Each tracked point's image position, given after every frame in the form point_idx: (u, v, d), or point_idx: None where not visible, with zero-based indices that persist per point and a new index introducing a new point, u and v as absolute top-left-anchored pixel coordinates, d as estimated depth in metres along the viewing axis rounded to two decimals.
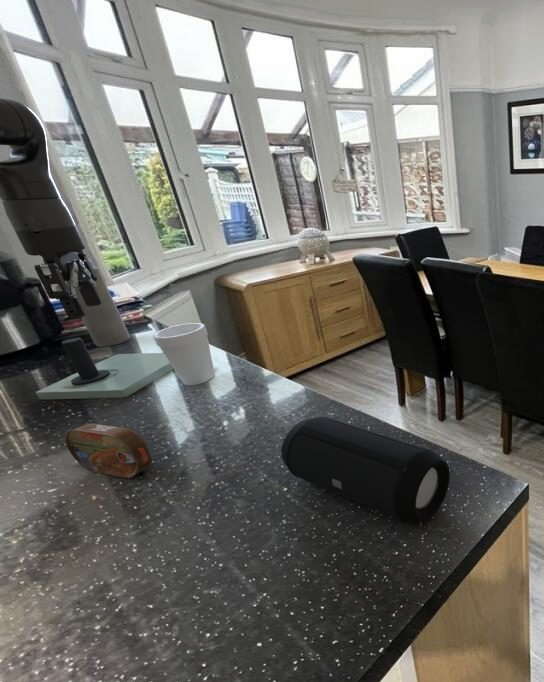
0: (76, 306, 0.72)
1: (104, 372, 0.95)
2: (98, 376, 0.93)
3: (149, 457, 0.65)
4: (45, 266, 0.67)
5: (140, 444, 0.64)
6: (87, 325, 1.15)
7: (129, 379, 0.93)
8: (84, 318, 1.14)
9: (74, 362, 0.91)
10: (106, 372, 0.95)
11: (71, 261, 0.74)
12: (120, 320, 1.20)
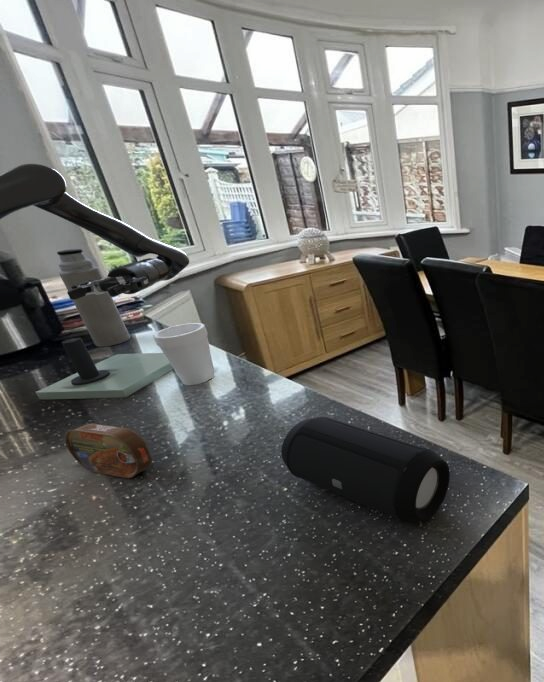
0: (120, 292, 0.99)
1: (104, 372, 0.95)
2: (98, 376, 0.93)
3: (149, 457, 0.65)
4: (148, 281, 1.06)
5: (140, 444, 0.64)
6: (87, 325, 1.15)
7: (129, 379, 0.93)
8: (84, 318, 1.14)
9: (74, 362, 0.91)
10: (106, 372, 0.95)
11: None
12: (120, 320, 1.20)
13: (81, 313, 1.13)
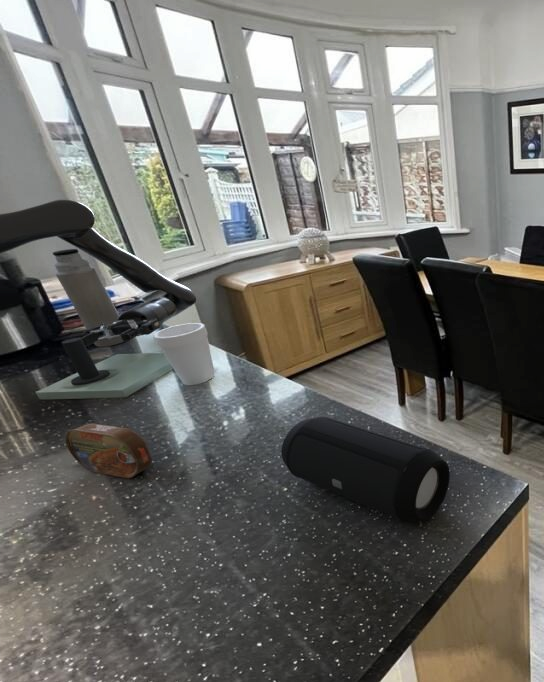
0: None
1: (104, 372, 0.95)
2: (98, 376, 0.93)
3: (149, 457, 0.65)
4: (158, 323, 1.09)
5: (140, 444, 0.64)
6: (86, 325, 1.14)
7: (129, 379, 0.93)
8: (83, 319, 1.13)
9: (74, 362, 0.91)
10: (106, 372, 0.95)
11: None
12: None
13: (80, 314, 1.13)
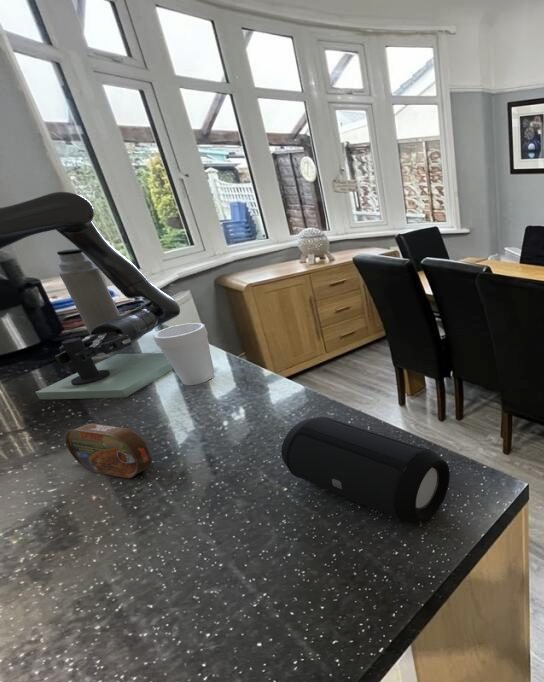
0: None
1: (104, 372, 0.95)
2: (98, 376, 0.93)
3: (149, 457, 0.65)
4: (129, 340, 0.98)
5: (140, 444, 0.64)
6: (87, 325, 1.15)
7: (129, 379, 0.93)
8: (84, 318, 1.14)
9: (74, 362, 0.91)
10: (106, 372, 0.95)
11: None
12: None
13: (81, 313, 1.13)
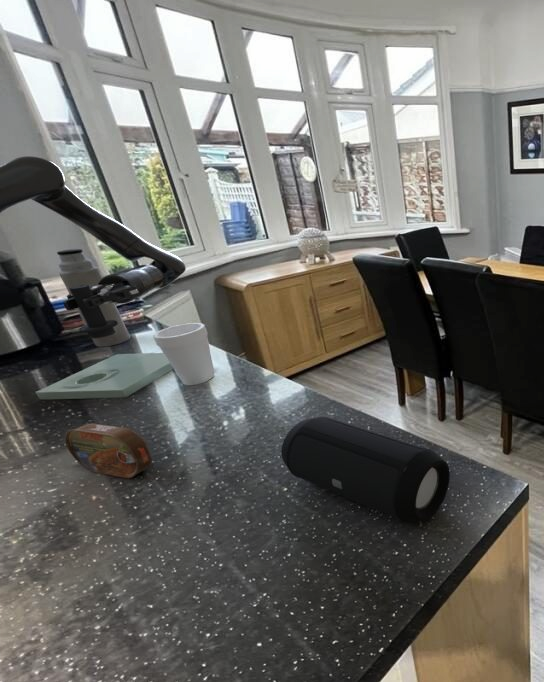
0: None
1: (112, 322, 0.94)
2: (106, 325, 0.92)
3: (149, 457, 0.65)
4: (137, 291, 0.97)
5: (140, 444, 0.64)
6: None
7: (129, 379, 0.93)
8: None
9: (82, 309, 0.89)
10: (114, 322, 0.94)
11: None
12: (120, 320, 1.20)
13: (81, 313, 1.13)
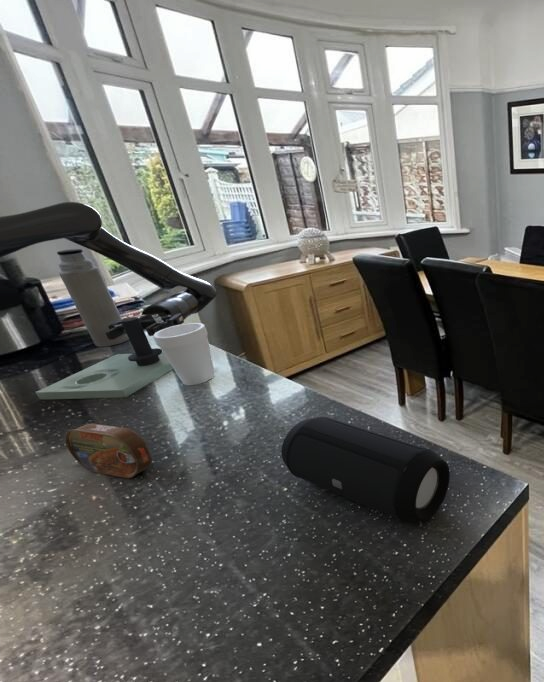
0: (157, 331, 0.99)
1: (157, 350, 1.02)
2: (153, 354, 1.00)
3: (149, 457, 0.65)
4: (182, 318, 1.06)
5: (140, 444, 0.64)
6: (87, 325, 1.15)
7: (129, 379, 0.93)
8: (84, 318, 1.14)
9: (132, 340, 0.97)
10: (159, 350, 1.02)
11: None
12: None
13: (81, 313, 1.13)
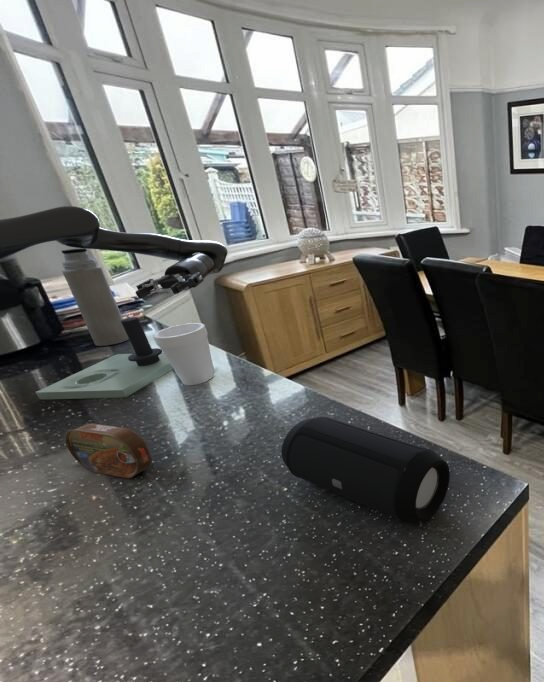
0: None
1: (157, 350, 1.02)
2: (153, 354, 1.00)
3: (149, 457, 0.65)
4: (201, 277, 1.14)
5: (140, 444, 0.64)
6: (89, 324, 1.15)
7: (129, 379, 0.93)
8: (86, 317, 1.14)
9: (132, 340, 0.97)
10: (159, 350, 1.02)
11: None
12: (122, 319, 1.20)
13: (83, 312, 1.13)
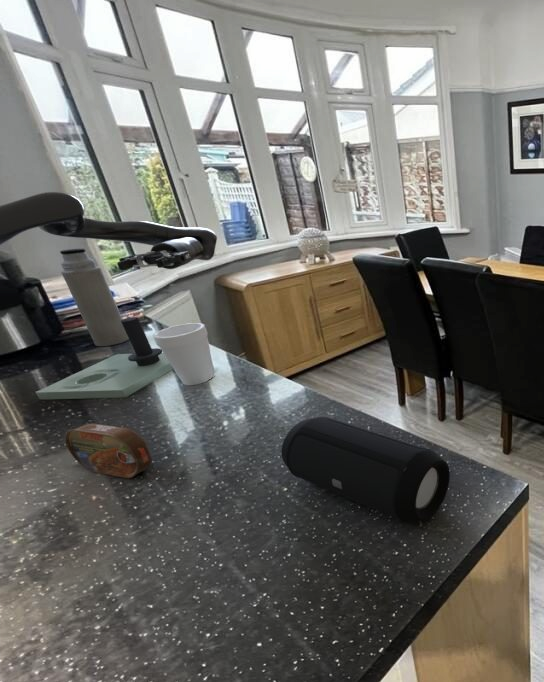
0: (165, 264, 1.05)
1: (157, 350, 1.02)
2: (153, 354, 1.00)
3: (149, 457, 0.65)
4: (189, 256, 1.12)
5: (140, 444, 0.64)
6: (88, 324, 1.15)
7: (129, 379, 0.93)
8: (86, 317, 1.14)
9: (132, 340, 0.97)
10: (159, 350, 1.02)
11: None
12: (121, 319, 1.20)
13: (83, 312, 1.13)
